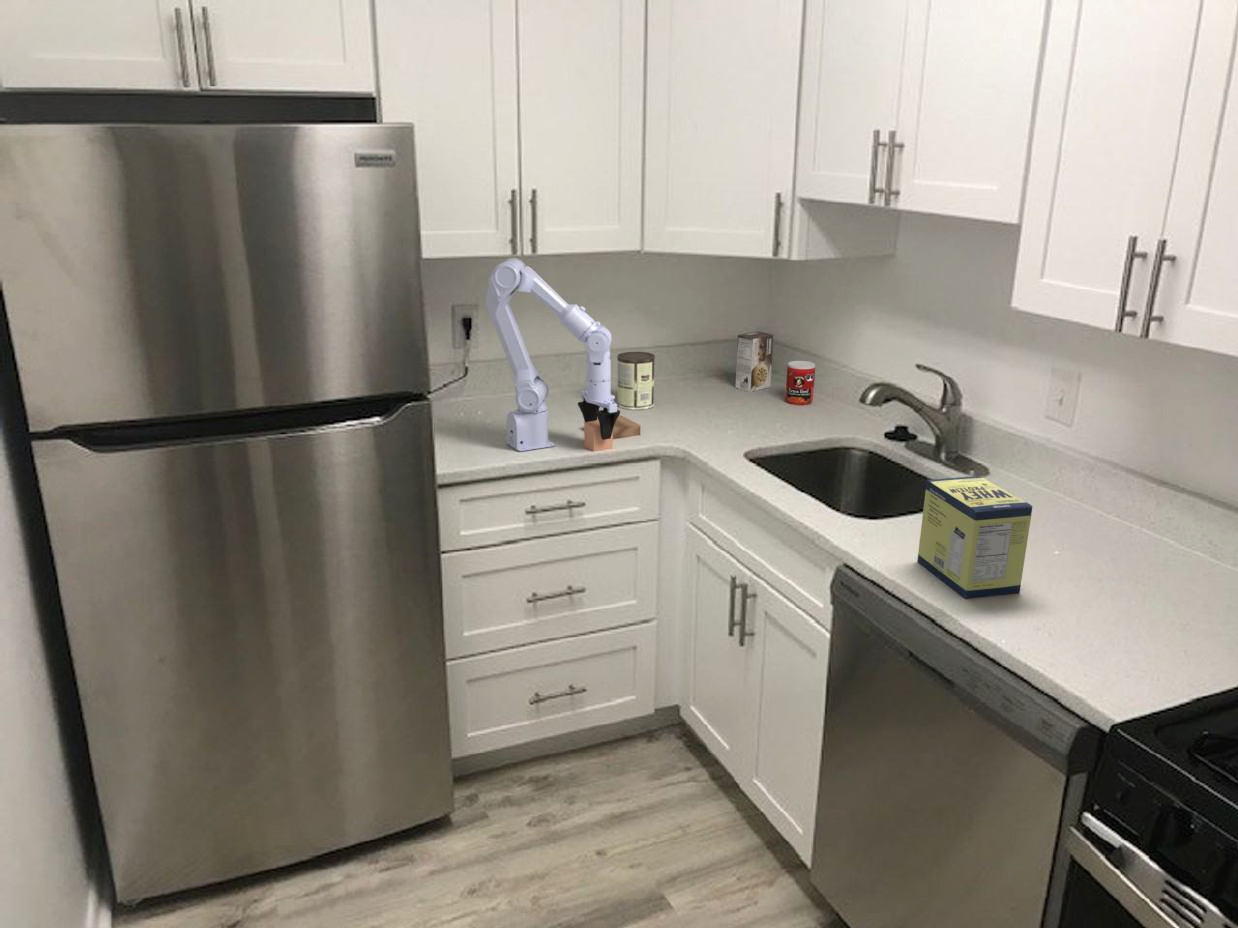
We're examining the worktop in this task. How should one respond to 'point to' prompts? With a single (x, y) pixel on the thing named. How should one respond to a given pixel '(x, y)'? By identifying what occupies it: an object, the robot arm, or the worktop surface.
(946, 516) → the protein box
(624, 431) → the walnut base
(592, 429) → the terracotta block
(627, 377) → the coffee can
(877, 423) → the worktop surface
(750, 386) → the brown white food box
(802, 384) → the canned food
